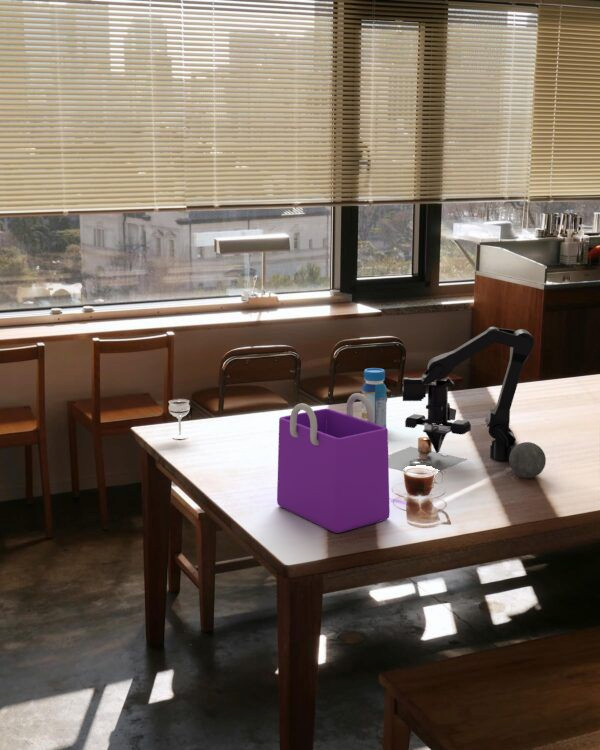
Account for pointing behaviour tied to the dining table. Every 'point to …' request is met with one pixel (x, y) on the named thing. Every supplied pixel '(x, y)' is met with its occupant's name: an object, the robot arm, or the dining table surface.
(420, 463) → the crank
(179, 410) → the wineglass
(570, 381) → the dining table surface
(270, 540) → the dining table surface
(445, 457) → the mount plate
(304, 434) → the shopping bag
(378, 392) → the beverage bottle
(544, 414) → the dining table surface
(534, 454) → the decorative ball
